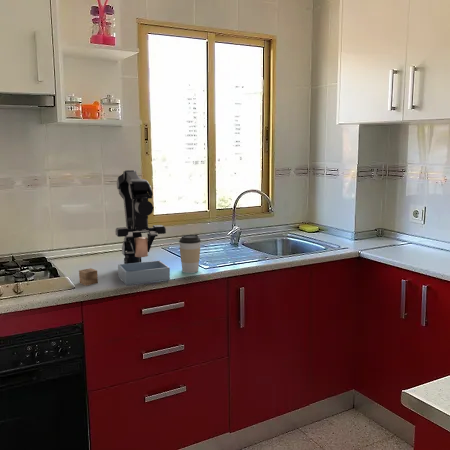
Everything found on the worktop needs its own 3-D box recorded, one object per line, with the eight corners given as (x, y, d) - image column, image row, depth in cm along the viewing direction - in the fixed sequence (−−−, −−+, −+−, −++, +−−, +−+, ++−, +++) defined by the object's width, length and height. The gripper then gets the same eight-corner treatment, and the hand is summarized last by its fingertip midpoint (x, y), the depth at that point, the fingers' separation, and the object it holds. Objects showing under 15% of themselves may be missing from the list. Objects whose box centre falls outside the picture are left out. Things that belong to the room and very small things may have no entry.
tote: (160, 272, 208) (159, 260, 208) (169, 280, 197) (169, 267, 196) (118, 276, 202) (118, 264, 201) (126, 285, 190) (125, 272, 189)
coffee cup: (183, 274, 205) (182, 238, 203) (176, 269, 213) (175, 234, 211) (204, 272, 209) (204, 236, 206) (196, 267, 217) (196, 232, 214)
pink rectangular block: (146, 254, 201) (145, 236, 200) (149, 256, 196) (148, 238, 195) (133, 255, 199) (133, 237, 198) (136, 257, 195) (135, 239, 194)
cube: (91, 280, 196) (91, 268, 196) (97, 283, 193) (97, 270, 192) (79, 283, 193) (78, 270, 192) (85, 285, 189) (85, 272, 189)
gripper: (158, 209, 206) (159, 247, 208) (112, 211, 199) (114, 250, 202) (165, 212, 196) (166, 252, 198) (117, 215, 189) (118, 256, 191)
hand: (141, 252), depth 198 cm, fingers closed on pink rectangular block, 5 cm apart
